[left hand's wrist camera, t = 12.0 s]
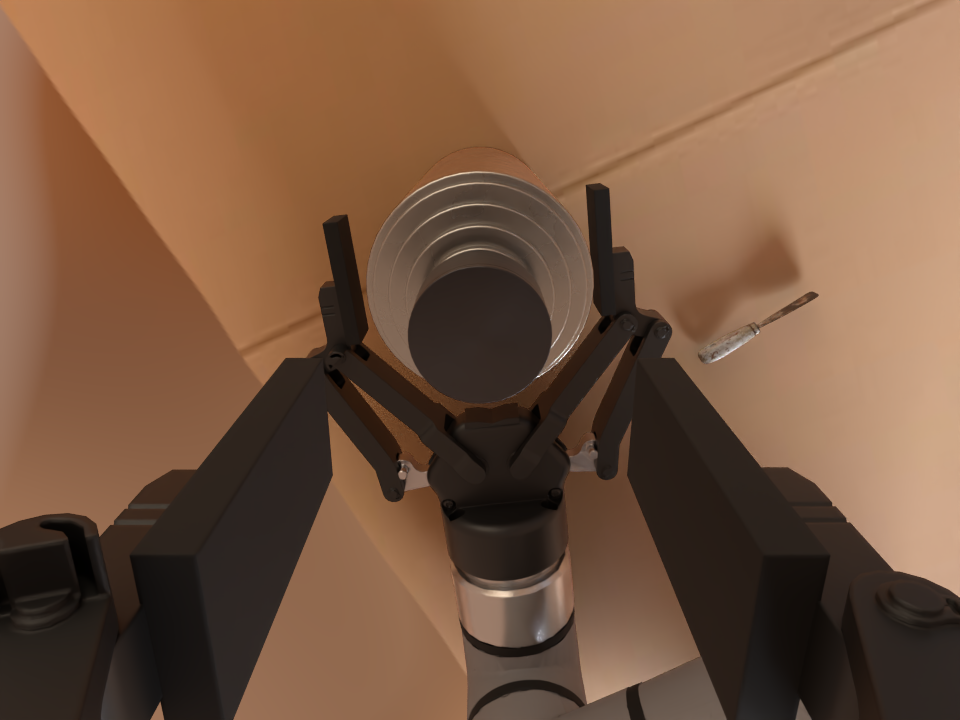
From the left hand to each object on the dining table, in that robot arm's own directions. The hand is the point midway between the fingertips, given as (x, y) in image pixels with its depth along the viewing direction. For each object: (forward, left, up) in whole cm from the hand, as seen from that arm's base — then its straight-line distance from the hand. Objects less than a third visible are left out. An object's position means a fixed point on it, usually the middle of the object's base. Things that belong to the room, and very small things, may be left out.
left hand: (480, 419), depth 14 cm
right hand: (-2, 0, -23) cm, 23 cm away
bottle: (0, 0, -29) cm, 29 cm away
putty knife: (+10, +16, -29) cm, 35 cm away
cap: (0, 0, -6) cm, 6 cm away
